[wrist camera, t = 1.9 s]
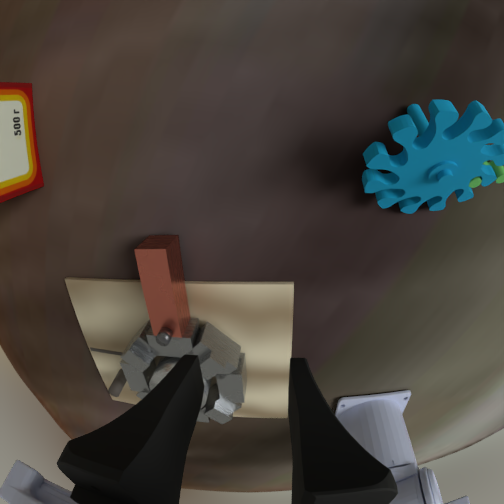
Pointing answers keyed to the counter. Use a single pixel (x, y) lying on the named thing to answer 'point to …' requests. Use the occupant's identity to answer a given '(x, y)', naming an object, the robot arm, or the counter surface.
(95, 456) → the robot arm
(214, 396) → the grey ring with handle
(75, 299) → the mounting board
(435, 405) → the counter surface
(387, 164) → the gear
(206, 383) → the grey metal ball
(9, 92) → the baking soda box
